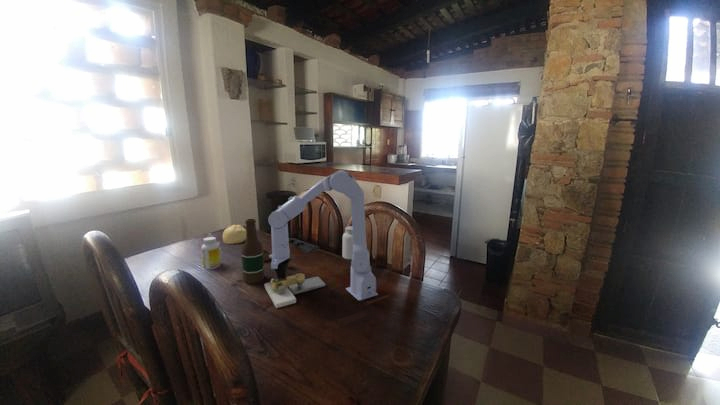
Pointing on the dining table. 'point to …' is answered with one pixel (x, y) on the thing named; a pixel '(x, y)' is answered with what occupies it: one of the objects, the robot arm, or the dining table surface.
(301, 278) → the latch arm
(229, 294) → the dining table surface
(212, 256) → the supplement bottle
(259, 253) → the beer bottle
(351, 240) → the pill bottle
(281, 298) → the door board
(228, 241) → the steamed bun
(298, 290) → the plate
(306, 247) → the dark slate chunk
